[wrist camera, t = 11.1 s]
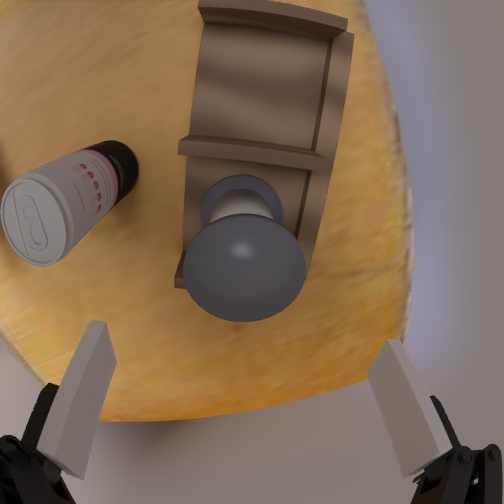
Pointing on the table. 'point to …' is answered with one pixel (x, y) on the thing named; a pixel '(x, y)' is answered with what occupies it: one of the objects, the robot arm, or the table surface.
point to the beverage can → (65, 200)
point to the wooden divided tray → (267, 108)
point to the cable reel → (243, 253)
